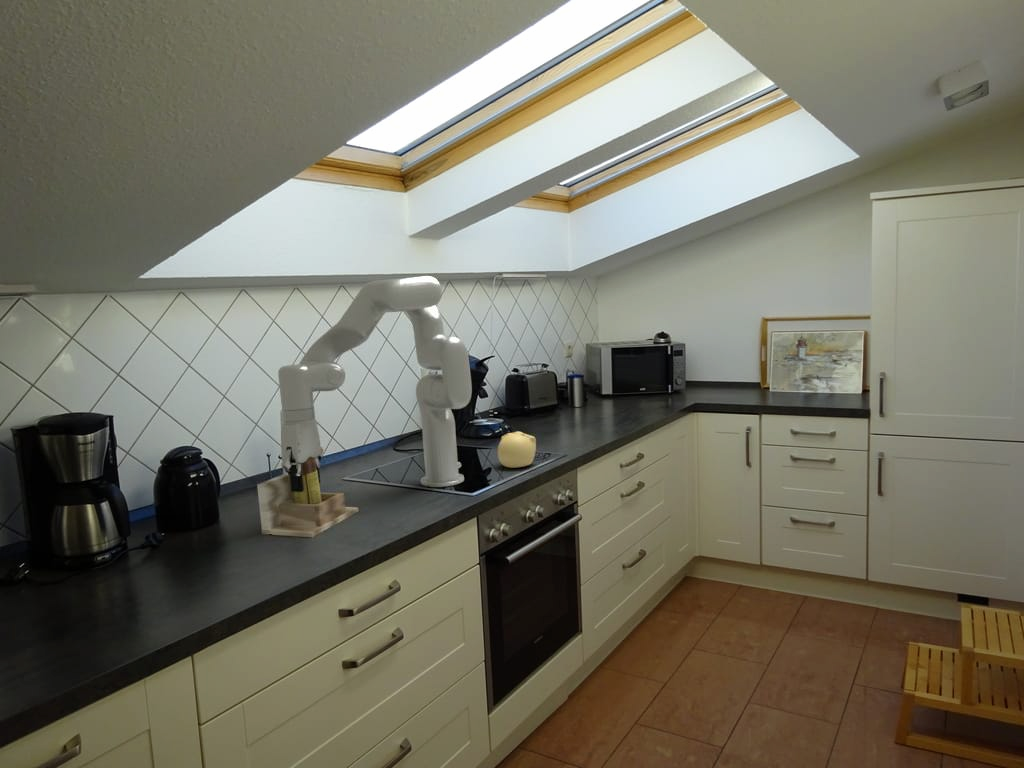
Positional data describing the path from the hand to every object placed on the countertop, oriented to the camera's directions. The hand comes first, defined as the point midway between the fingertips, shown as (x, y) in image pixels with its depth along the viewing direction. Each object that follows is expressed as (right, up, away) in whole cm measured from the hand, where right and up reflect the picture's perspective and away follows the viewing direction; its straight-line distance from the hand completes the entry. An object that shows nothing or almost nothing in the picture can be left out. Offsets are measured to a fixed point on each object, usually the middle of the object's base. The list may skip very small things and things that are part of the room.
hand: (306, 486), depth 175 cm
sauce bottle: (0, -7, +1) cm, 7 cm away
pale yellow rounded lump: (+52, -1, +47) cm, 70 cm away
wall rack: (+1, -9, +1) cm, 9 cm away
